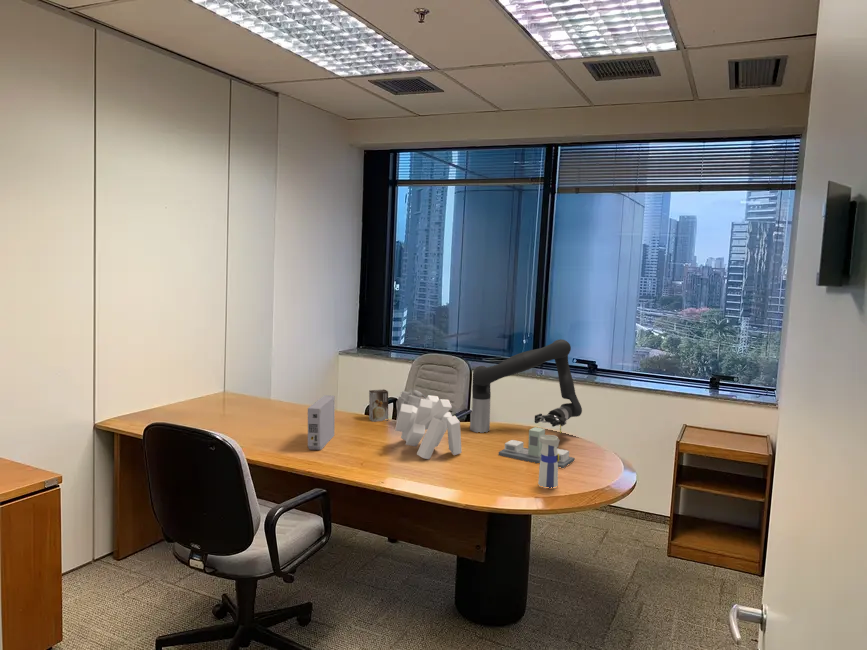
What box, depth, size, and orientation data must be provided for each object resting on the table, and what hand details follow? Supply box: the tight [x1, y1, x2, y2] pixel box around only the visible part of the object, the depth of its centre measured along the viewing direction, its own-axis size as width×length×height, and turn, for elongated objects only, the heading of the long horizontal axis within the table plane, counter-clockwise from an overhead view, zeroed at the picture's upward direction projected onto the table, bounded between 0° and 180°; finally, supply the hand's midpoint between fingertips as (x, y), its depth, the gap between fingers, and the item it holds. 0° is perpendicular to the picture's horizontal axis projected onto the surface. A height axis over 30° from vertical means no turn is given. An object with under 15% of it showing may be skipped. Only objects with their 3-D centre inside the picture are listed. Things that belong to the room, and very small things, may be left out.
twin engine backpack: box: [395, 389, 427, 420], centre depth 332 cm, size 18×19×20 cm
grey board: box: [497, 447, 576, 469], centre depth 282 cm, size 31×13×2 cm, turn 56°
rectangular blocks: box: [504, 439, 570, 462], centre depth 282 cm, size 28×7×3 cm, turn 56°
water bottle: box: [537, 425, 562, 488], centre depth 248 cm, size 8×9×25 cm
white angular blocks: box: [394, 394, 463, 460], centre depth 287 cm, size 35×30×35 cm
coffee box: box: [368, 388, 389, 423], centre depth 342 cm, size 9×6×16 cm
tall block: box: [528, 426, 546, 456], centre depth 281 cm, size 5×6×11 cm
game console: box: [307, 394, 335, 451], centre depth 299 cm, size 6×27×20 cm, turn 174°
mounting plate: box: [503, 447, 570, 463], centre depth 282 cm, size 29×7×1 cm, turn 56°
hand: (544, 422), depth 292 cm, fingers open, 8 cm apart
